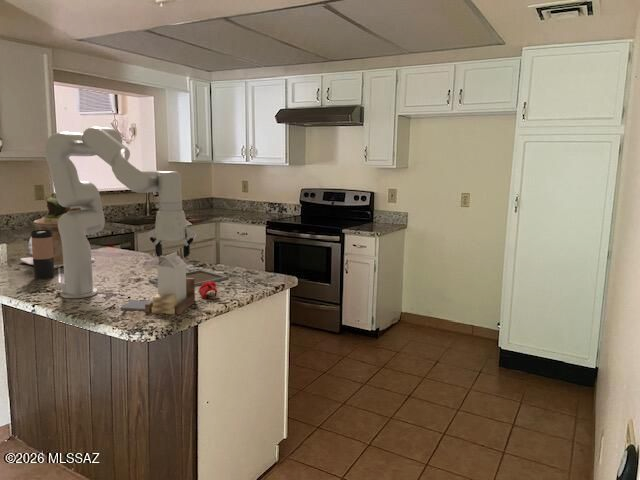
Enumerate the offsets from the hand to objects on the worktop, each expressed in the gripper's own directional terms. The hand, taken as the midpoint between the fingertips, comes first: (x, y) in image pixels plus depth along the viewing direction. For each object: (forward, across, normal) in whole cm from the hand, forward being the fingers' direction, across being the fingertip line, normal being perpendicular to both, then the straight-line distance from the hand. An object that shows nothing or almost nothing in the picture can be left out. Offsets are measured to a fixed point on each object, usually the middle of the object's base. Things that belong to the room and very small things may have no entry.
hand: (172, 256), depth 170 cm
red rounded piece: (+19, +8, +14) cm, 25 cm away
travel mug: (+17, -68, +29) cm, 76 cm away
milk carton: (+18, -1, 0) cm, 18 cm away
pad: (+18, -12, -2) cm, 22 cm away
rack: (+18, -1, -2) cm, 18 cm away
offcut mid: (+16, -1, -6) cm, 18 cm away
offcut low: (+19, -1, -6) cm, 20 cm away
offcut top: (+14, -1, -6) cm, 16 cm away
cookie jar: (+17, -80, +57) cm, 100 cm away
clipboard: (+19, -8, +35) cm, 41 cm away
